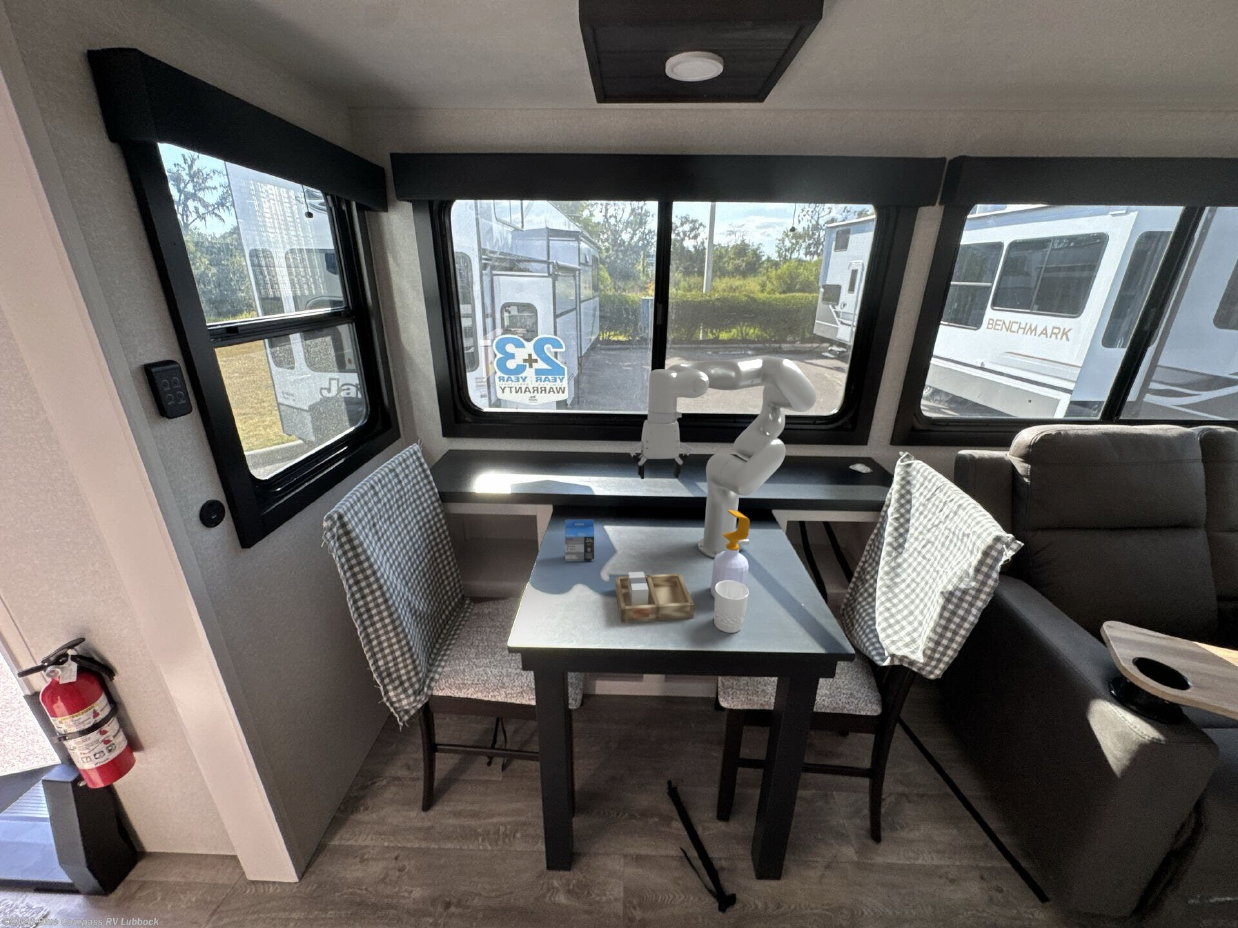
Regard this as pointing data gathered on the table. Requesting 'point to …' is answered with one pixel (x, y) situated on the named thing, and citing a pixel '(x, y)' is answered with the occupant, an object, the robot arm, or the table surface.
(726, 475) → the robot arm
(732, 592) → the white cup
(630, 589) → the grey banded white block
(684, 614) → the wooden compartment tray
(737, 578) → the spray bottle
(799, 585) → the table surface
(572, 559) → the label tape box
